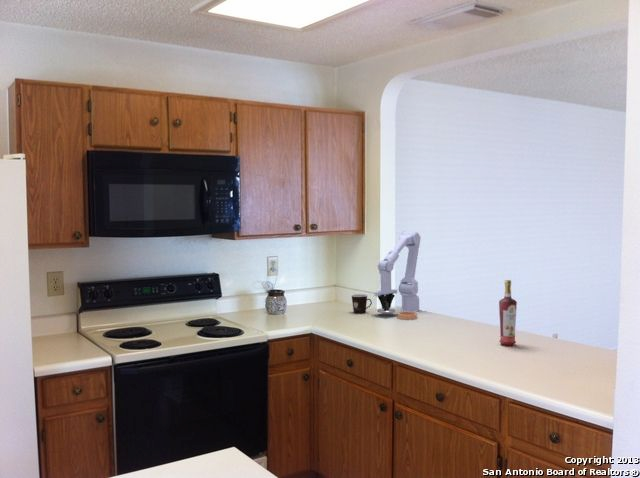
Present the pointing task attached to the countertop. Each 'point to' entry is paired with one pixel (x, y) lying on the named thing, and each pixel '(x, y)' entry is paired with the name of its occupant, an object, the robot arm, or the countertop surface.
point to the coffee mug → (360, 303)
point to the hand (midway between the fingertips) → (386, 308)
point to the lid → (387, 310)
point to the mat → (385, 315)
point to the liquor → (507, 317)
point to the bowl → (407, 315)
